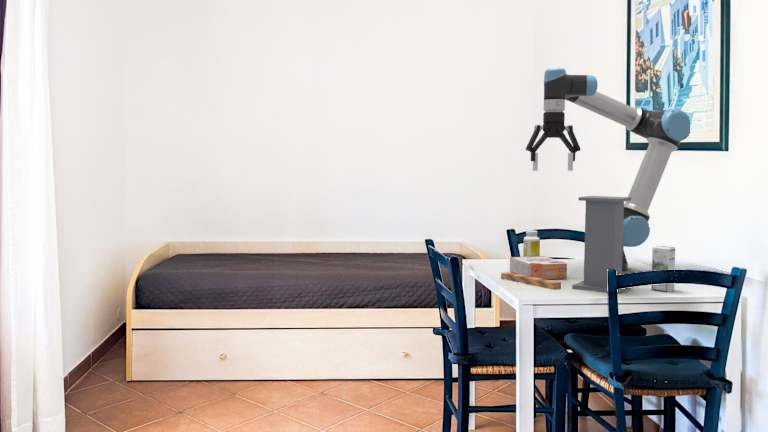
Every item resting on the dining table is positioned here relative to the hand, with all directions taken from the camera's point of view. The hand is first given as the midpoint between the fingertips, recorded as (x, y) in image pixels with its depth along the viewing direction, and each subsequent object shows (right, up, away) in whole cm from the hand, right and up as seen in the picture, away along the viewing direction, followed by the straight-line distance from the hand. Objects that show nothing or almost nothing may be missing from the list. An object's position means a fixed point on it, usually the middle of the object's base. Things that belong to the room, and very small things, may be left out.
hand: (552, 170), depth 286 cm
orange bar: (-11, -38, -13) cm, 42 cm away
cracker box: (-7, -35, +15) cm, 38 cm away
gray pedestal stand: (+12, -41, -22) cm, 48 cm away
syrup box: (+31, -41, -25) cm, 57 cm away
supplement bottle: (0, -36, +42) cm, 55 cm away
